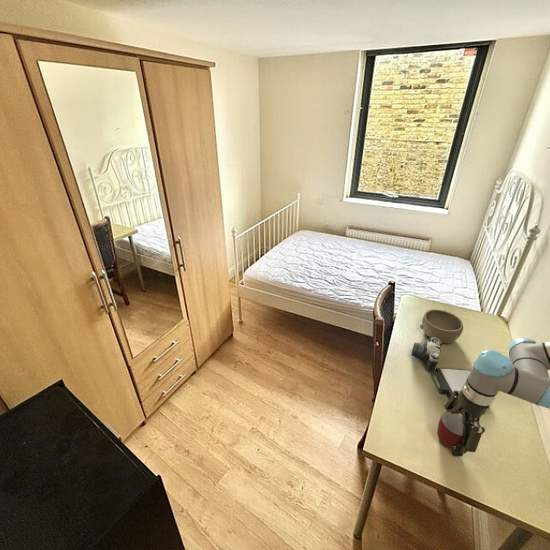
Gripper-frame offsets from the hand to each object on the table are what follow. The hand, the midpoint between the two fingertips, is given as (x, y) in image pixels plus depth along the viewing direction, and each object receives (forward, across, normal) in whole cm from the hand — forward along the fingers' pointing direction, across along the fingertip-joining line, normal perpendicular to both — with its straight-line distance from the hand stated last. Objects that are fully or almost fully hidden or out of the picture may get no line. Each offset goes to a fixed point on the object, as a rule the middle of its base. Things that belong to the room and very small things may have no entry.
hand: (450, 441), depth 96 cm
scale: (0, -24, +13) cm, 27 cm away
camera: (+1, -38, +5) cm, 38 cm away
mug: (+1, 0, 0) cm, 1 cm away
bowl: (+1, -55, +18) cm, 58 cm away
